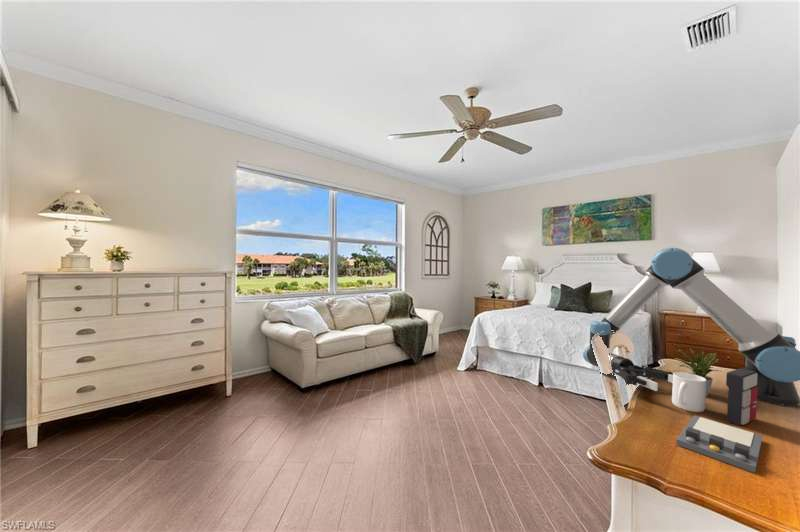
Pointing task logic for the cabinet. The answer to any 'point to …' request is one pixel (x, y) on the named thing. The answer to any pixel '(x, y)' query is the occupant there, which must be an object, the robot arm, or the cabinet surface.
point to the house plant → (700, 367)
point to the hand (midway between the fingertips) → (672, 385)
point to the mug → (689, 391)
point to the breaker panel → (726, 450)
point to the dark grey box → (741, 396)
